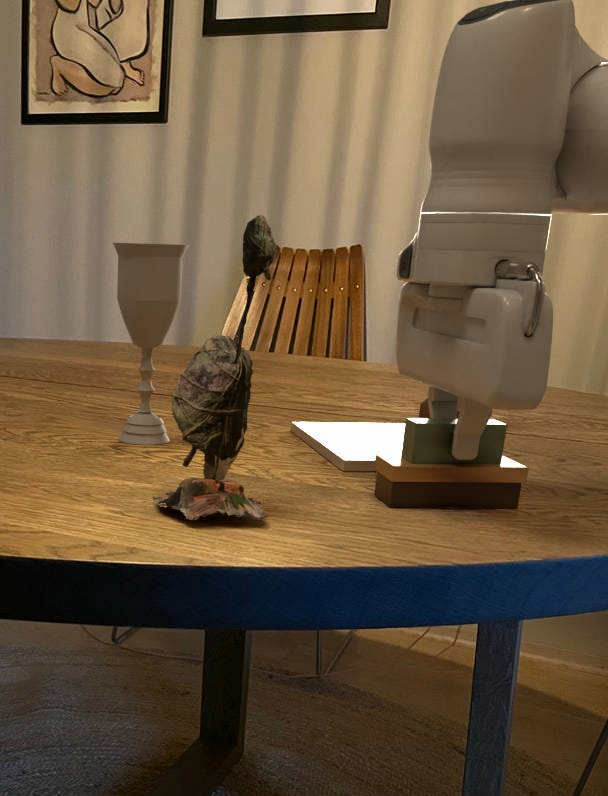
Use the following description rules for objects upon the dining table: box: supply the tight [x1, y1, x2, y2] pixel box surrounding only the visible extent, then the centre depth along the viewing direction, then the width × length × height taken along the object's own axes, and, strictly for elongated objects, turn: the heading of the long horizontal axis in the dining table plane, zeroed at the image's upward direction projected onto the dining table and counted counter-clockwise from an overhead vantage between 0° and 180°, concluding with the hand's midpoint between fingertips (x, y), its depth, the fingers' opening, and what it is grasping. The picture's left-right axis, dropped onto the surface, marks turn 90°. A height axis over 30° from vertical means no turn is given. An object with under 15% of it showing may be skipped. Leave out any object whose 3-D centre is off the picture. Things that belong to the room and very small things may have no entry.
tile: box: [290, 421, 405, 473], centre depth 99 cm, size 14×20×1 cm
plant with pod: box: [152, 214, 277, 521], centre depth 72 cm, size 8×11×20 cm
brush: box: [374, 417, 529, 509], centre depth 79 cm, size 10×4×6 cm, turn 95°
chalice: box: [112, 242, 189, 446], centre depth 98 cm, size 7×7×18 cm
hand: (451, 452), depth 78 cm, fingers closed on brush, 2 cm apart
